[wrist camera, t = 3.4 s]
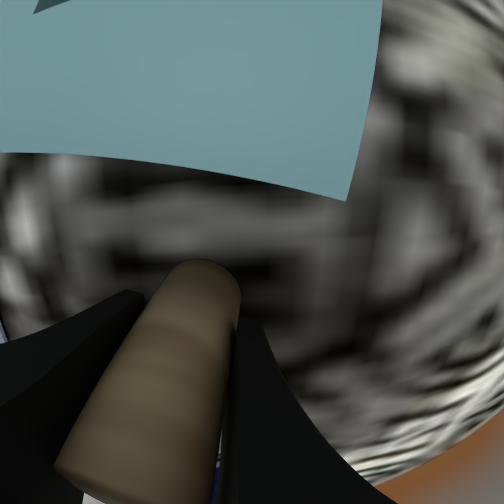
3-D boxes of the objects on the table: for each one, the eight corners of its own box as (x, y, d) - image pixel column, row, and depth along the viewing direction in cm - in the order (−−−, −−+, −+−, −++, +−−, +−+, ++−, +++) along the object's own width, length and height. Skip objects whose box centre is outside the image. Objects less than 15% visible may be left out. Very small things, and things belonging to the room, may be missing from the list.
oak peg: (233, 333, 11) (203, 532, 3) (162, 317, 11) (79, 492, 3) (248, 268, 10) (216, 513, 2) (166, 251, 10) (28, 441, 2)
